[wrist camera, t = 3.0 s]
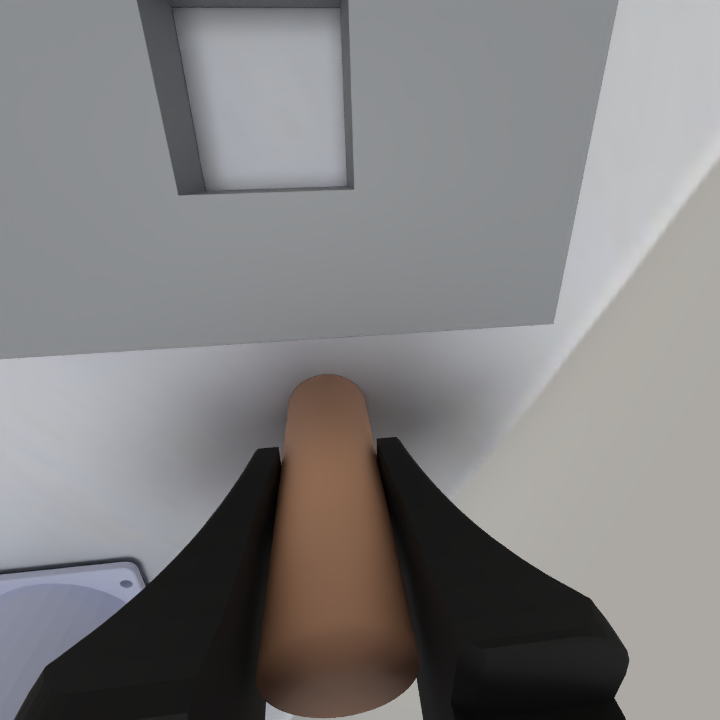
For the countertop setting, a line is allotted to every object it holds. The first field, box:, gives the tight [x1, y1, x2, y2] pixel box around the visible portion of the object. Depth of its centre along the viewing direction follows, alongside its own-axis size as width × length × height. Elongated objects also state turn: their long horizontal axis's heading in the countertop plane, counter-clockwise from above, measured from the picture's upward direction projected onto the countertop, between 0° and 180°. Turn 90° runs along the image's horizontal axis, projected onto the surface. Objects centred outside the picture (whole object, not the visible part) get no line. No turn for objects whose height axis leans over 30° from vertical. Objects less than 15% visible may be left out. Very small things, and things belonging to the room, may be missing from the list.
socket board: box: [0, 0, 618, 359], centre depth 9 cm, size 15×16×2 cm
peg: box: [256, 375, 420, 718], centre depth 11 cm, size 3×3×9 cm
